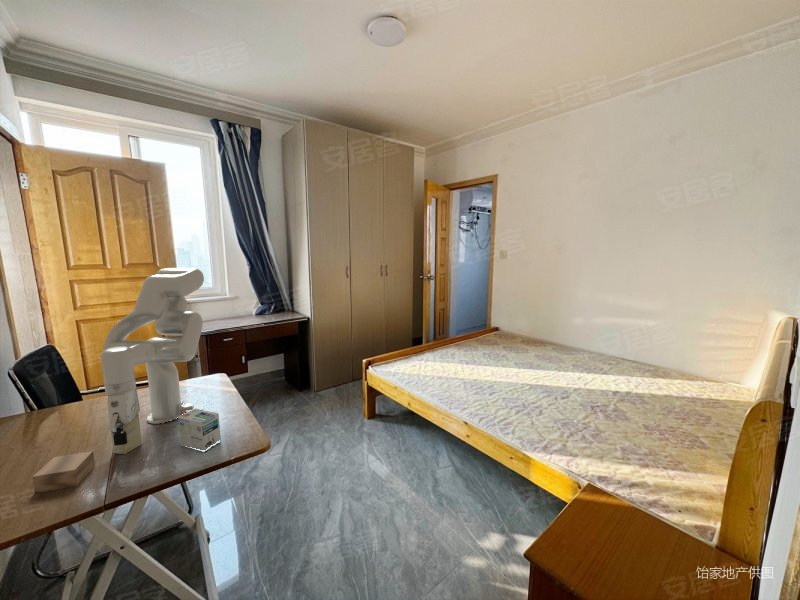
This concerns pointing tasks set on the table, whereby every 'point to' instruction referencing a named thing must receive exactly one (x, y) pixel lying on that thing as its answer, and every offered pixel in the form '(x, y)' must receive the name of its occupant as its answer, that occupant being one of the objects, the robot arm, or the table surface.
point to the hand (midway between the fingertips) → (126, 437)
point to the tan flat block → (63, 471)
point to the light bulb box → (199, 429)
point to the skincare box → (129, 436)
